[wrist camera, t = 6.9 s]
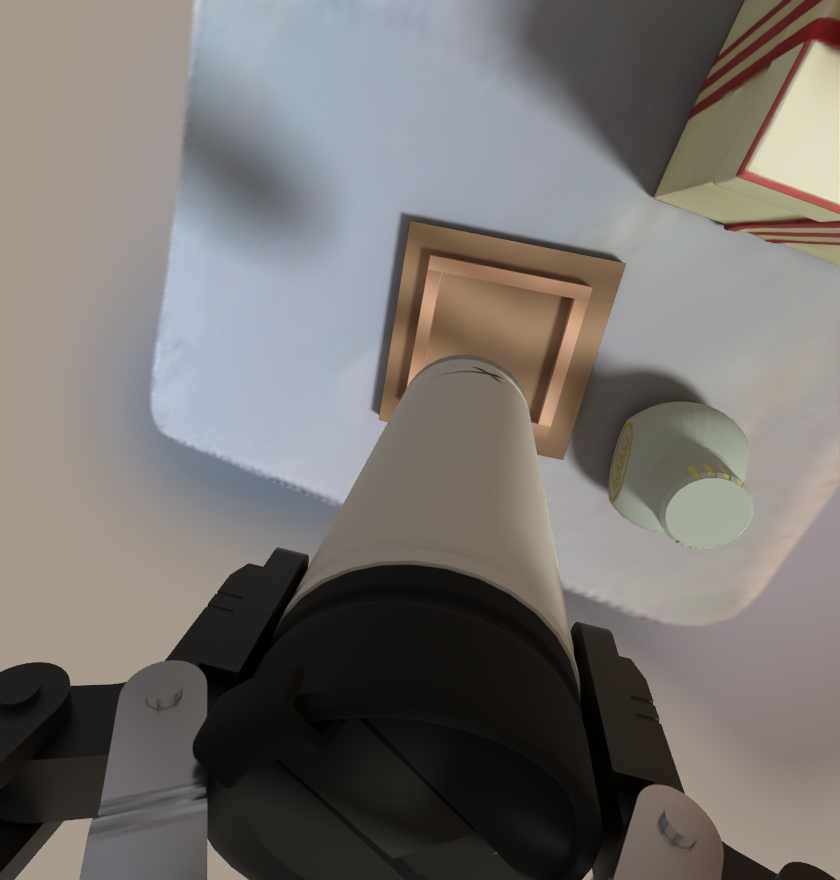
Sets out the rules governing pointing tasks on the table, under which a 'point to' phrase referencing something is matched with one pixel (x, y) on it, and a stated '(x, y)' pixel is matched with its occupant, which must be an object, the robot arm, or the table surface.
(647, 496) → the air freshener
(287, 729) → the travel mug
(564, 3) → the table surface
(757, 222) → the gift box
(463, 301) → the tan square plate
